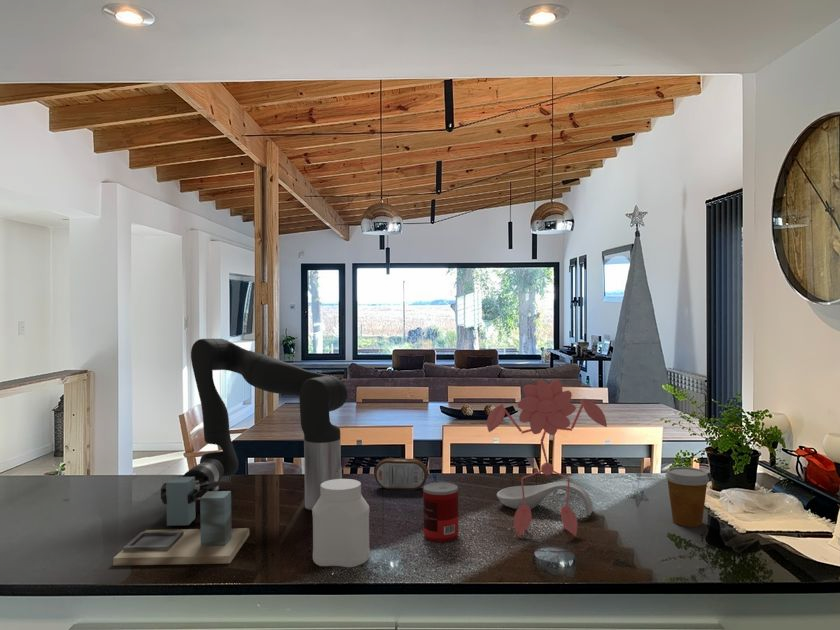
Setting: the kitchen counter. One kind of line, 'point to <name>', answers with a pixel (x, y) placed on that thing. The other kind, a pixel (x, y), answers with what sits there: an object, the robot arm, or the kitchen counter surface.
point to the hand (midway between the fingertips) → (177, 499)
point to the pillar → (180, 501)
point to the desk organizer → (190, 539)
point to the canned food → (440, 511)
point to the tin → (401, 473)
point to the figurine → (548, 413)
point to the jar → (341, 525)
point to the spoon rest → (539, 494)
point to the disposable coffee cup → (687, 494)
